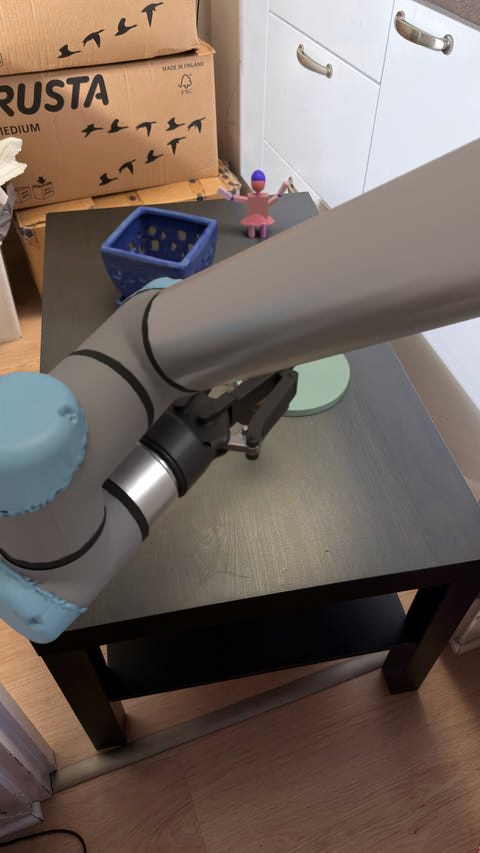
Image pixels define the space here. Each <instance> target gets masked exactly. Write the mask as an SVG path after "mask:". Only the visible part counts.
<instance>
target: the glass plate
mask: <svg viewBox="0 0 480 853" xmlns="http://www.w3.org/2000/svg"><path fill="white" fill-rule="evenodd" d="M293 370H295V371H297V372H298V374H299V376H298V385H297V393H296V396H295V397H294V398H293V400H292V401H291V402H290V404H289V409H288V410H287V411H286V412H285V413H284V414H283V417H284V416H285V417H306V416H310V415H315V414H318V413H321V412H323V411H326V410H328V409H330V408H331V407H333V406H335V405H336V404H337V403H338V402H339V401H340V400H341V399H342V398H343V396H344V395H345V394H346V392H347V391H348V387H349V383H350V379H351V368H350V365H349V362H348V360H347V358H346V356H345V354H344V353H343V354H339V355H335V356H331V357H328V358H324V359H320V360H316V361H313V362H309V363H305V364H301V365H297V366H295V368H294V369H293ZM241 382H242V380H241V381H237V382H233V383H234V386H235V389H236V388H237V386H238V385H239V384H240V383H241Z"/></svg>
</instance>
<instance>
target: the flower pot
mask: <svg viewBox="0 0 480 853" xmlns="http://www.w3.org/2000/svg"><path fill="white" fill-rule="evenodd" d="M218 224H219V223H218V220H216V219H212V218H208V217H205V216H198V215H196V214H195V215H194V214H189V213H185V212H181V211H177V210H168V209H164V208H163V209H162V208H158V207H152V206H144V205H143V206H142V205H141V206H138V207H136V209H135V210H133V211H132V212H131V213H130V214H129V215H128V216H127V217H126V218H125V219H124V220H123V221H122V222H121V223H120V225H119V226H117V228H116V229H115V230H114V231H113V232H112V233H111V234H110V235H109V236H108V237H107V238H106V240H105V241H104V242H103V243H102V245H101V246H100V250H99V251H100V254H101V255H100V256H101V259H102V262H103V264H104V267H105V270H106V272H107V274H108V277H109V278H110V280H111V282H112V284H113V285H114V286H115V288H116V289H117V291H118V292H119V293H120V295H119V297H118V298H117V299H116V301H115V304H116V305H117V307H118V308H119V307H120V305H121V303H122V302H123V301H124V300H126V299H127V298H128V297H130V296H131V295H133V294H134V293H135V292H137V291H139V290H141V289H142V288H143V287H144V286H146V285H147V284H148V283H150V282H151V281H153V280H155V279H158V278H163V277H168V278H172V279H182V280H184V279H186V278H188V277H190V276H192V275H194V274H196V273H198V272H200V271H202V270H204V269H207V268H209V267H211V266H213V262H214V258H215V254H216V251H217V250H216V249H217V242H218V232H219V229H218V228H219V227H218V226H219V225H218ZM150 227H151V228H153V229H154V230H155V233H152V232H151V231H150ZM179 232H184V233H185V234H184V235H185V238H181V237H180V236H179ZM162 233H163V235H165V237H163V235H162ZM152 241H156V242H157V243H158V248H156V247H153V243H152ZM173 244H175V248H174V247H173V246H172V245H173ZM130 245H132V248H131V246H130ZM189 245H192V247H191V248H189ZM139 248H140V250H139Z"/></svg>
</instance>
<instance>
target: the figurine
mask: <svg viewBox="0 0 480 853" xmlns="http://www.w3.org/2000/svg"><path fill="white" fill-rule="evenodd" d="M250 176H251V177H250V187H251V189H252V191H253V192H247V196H244V195H238V194H232V193H230V192H228V190H226V189H225V188H223V187H222V186H219V187H218V188H217V190H216V193H217V194H218V195H220V196H221V197H222V198H224V199H225V200H227V201H228V202H230V201H232V202H235V203H241V204H246V205H247V215H246V216H245V217H244V218H243V219H241V220H240V224H241V225H244V226H247V230H248V231H247V235H248V237H249V238H250V239H254V238H255V237H256V227H259V236H260V238H262V239H265V238H266V237H267V236H266V235H267V226H269V225H272V224H274V223H275V219H273V218H272V217H271V216H270V215H269V208H270V207H272V206H273V205H275V204H276V203H278V202H279V201H280V199H281V197H283V196H284V195H285V193H286V191H287V190H288V188H289V186H290V183H289V182H288V181H285V180H284V181H283V182H282V184H281V186H280V187H279V189H278V191H277V192H276V194H274V195H272V196H271V197H270V198H269V192H263V191H264V189H265V187H266V183H267V182H266V181H267V180H266V175H265V173H264V171H262V170H260V169H256V170H254V171H253V172H252V173H251V175H250Z"/></svg>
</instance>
